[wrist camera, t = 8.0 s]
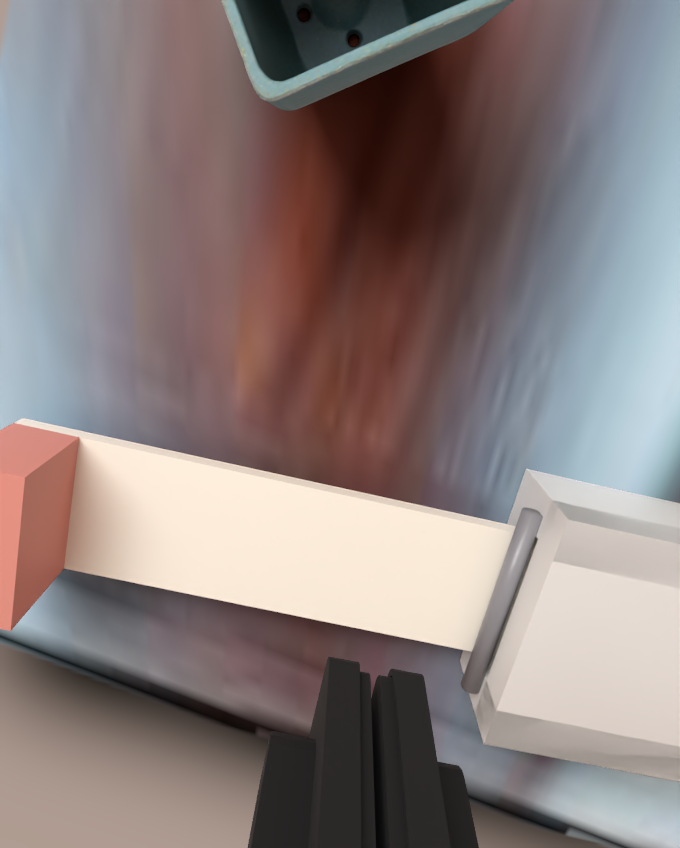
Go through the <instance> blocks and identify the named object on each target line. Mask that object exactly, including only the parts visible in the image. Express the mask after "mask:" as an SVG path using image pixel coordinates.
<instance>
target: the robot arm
mask: <svg viewBox="0 0 680 848" xmlns="http://www.w3.org/2000/svg"><path fill="white" fill-rule="evenodd" d="M248 848H479V847H478V843H477V837H476V832H475V827H474V823H473V818H472V814H471V808H470V803H469V798H468V793H467V789H466V784H465V779H464V776H463V772H462V770H461V768H460V767H459V766H457V765H452V764H446V763H441V762H437V757H436V750H435V744H434V738H433V731H432V725H431V719H430V713H429V706H428V700H427V694H426V688H425V681H424V677H423V675H422V674H417V673H412V672H406V671H401V670H396V669H391V670H390V672H389V674H388V677H386V676H380V675H379V676H378V677H377V679H376V683H375V687H374V690H373V694H372V698H371V683H370V674H369V673H365V672H360V664H359V662H354V661H349V660H344V659H338V658H333V657H328V660H327V663H326V667H325V671H324V675H323V680H322V684H321V688H320V693H319V697H318V701H317V705H316V710H315V714H314V718H313V722H312V727H311V731H310V735H309V738H307V737H302V736H297V735H291V734H286V733H281V732H275V731H271V733H270V737H269V742H268V747H267V751H266V756H265V761H264V766H263V770H262V775H261V780H260V785H259V790H258V795H257V801H256V806H255V811H254V817H253V822H252V828H251V833H250V839H249V844H248Z"/></svg>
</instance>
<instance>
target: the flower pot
mask: <svg viewBox="0 0 680 848" xmlns="http://www.w3.org/2000/svg"><path fill="white" fill-rule="evenodd" d="M221 1H222V4H223V7H224V9H225V12H226V15H227V18H228V20H229V23H230V25H231V28H232V31H233V34H234V37H235V39H236V42H237V45H238V48H239V51H240V54H241V56H242V58H243V61H244V64H245V68H246V71H247V74H248V77H249V79H250V80H251V83H252V86H253V88H254V90H255V92H256V93H257V94H258V96H259V97H260V98H261V99H263V100H265V101H266V102H268V103H270V104H272V105H273V106H275V107H277V108H279V109H282V110H285V111H293V110H297V109H300V108H302V107H304V106H307V105H309V104H311V103H314V102H316V101H318V100H320V99H323V98H325V97H327V96H330V95H332V94H334V93H336V92H339V91H341V90H343V89H345V88H348V87H350V86H352V85H354V84H357V83H359V82H361V81H363V80H366V79H368V78H370V77H372V76H375V75H377V74H379V73H382V72H384V71H386V70H389V69H391V68H393V67H396V66H398V65H400V64H402V63H405V62H407V61H409V60H412V59H414V58H416V57H419V56H421V55H423V54H426V53H428V52H430V51H433V50H435V49H438V48H440V47H442V46H445V45H447V44H450V43H452V42H455V41H457V40H459V39H461V38H463V37H465V36H467V35H469V34H471V33H472V32H474V31H476V30H477V29H478V28H480V27H481V26H482V25H484V24H485V23H486V22H488V21H489V20H490V19H491V18H493V17H494V16H495V15H496V14H498V13H499V12H500V11H501V10H503V9H504V8H505V7H506V6H507V5H509V4H510V3H511V2H512V1H513V0H221ZM301 8H306V9H308V10H309V12H310V18H309V20H308V21H306V22H302V21H300V20H299V18H298V12H299V10H300V9H301ZM352 34H356V35H358V36H359V39H360V42H359V44H358V45H357V46H356V47H351V46H349V44H348V37H349V36H350V35H352Z"/></svg>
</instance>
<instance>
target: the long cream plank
mask: <svg viewBox="0 0 680 848" xmlns="http://www.w3.org/2000/svg"><path fill="white" fill-rule="evenodd" d="M515 527H516V526H513V525H508V524H503V523H499V522H494V521H490V520H485V519H481V518H476V517H472V516H467V515H462V514H458V513H453V512H449V511H444V510H440V509H435V508H430V507H426V506H421V505H417V504H412V503H408V502H403V501H399V500H394V499H389V498H385V497H380V496H376V495H371V494H367V493H362V492H357V491H353V490H348V489H344V488H339V487H335V486H330V485H326V484H321V483H316V482H312V481H307V480H303V479H298V478H294V477H289V476H284V475H280V474H275V473H271V472H266V471H262V470H257V469H252V468H248V467H243V466H239V465H234V464H230V463H225V462H221V461H216V460H211V459H207V458H202V457H198V456H193V455H189V454H184V453H179V452H175V451H170V450H166V449H161V448H157V447H152V446H148V445H143V444H138V443H134V442H129V441H125V440H120V439H116V438H111V437H106V436H102V435H97V434H93V433H88V432H84V431H79V430H75V429H70V428H65V427H61V426H56V425H52V424H47V423H43V422H38V421H33V420H29V419H24V418H22V419H20V420H18V421H17V422H15V423H13V424H11V425H9V426H7V427H6V428H4V429H2V430H0V629H4V630H9V631H11V630H12V629H13V628H14V626H15V625H16V624H17V623H18V622H19V620H20V619H21V618H22V617H23V616H24V615H25V613H26V612H27V611H28V610H29V609H30V608H31V606H32V605H33V604H34V603H35V602H36V601H37V599H38V598H39V597H40V596H41V595H42V594H43V592H44V591H45V590H46V589H47V588H48V587H49V585H50V584H51V583H52V582H53V581H54V580H55V578H56V577H57V576H58V575H59V574H60V573H61V571H62V570H63V569H69V570H74V571H79V572H83V573H88V574H93V575H98V576H103V577H108V578H113V579H118V580H123V581H128V582H132V583H137V584H142V585H147V586H152V587H157V588H162V589H167V590H172V591H177V592H182V593H186V594H191V595H196V596H201V597H206V598H211V599H216V600H221V601H226V602H231V603H236V604H240V605H245V606H250V607H255V608H260V609H265V610H270V611H275V612H280V613H285V614H289V615H294V616H299V617H304V618H309V619H314V620H319V621H324V622H329V623H334V624H339V625H343V626H348V627H353V628H358V629H363V630H368V631H373V632H378V633H383V634H388V635H393V636H397V637H402V638H407V639H412V640H417V641H422V642H427V643H432V644H437V645H442V646H447V647H451V648H456V649H461V650H466V651H471V652H472V650H473V647H474V644H475V641H476V638H477V636H478V633H479V630H480V627H481V624H482V621H483V618H484V616H485V613H486V610H487V607H488V604H489V601H490V599H491V596H492V593H493V590H494V587H495V584H496V581H497V579H498V576H499V573H500V570H501V567H502V564H503V562H504V559H505V556H506V553H507V550H508V547H509V544H510V542H511V539H512V536H513V533H514V530H515ZM537 541H538V538H537V537H536V538H535V541H534V544H533V547H532V549H531V552H530V555H529V558H528V560H527V563H526V566H525V569H524V571H523V574H522V577H521V580H520V582H519V585H518V588H517V591H516V593H515V596H514V599H513V602H512V604H511V607H510V610H509V613H508V615H507V618H506V621H505V624H504V626H503V629H502V632H501V635H500V637H499V640H498V643H497V646H496V648H495V651H494V654H493V656H496V653H497V650H498V648H499V645H500V642H501V639H502V637H503V634H504V631H505V628H506V626H507V623H508V620H509V617H510V615H511V612H512V609H513V607H514V604H515V601H516V598H517V596H518V593H519V590H520V587H521V585H522V582H523V579H524V576H525V574H526V571H527V568H528V565H529V563H530V560H531V557H532V555H533V552H534V549H535V546H536V544H537Z"/></svg>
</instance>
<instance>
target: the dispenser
mask: <svg viewBox="0 0 680 848" xmlns="http://www.w3.org/2000/svg"><path fill="white" fill-rule="evenodd" d="M507 524H508V525H513V526H516V527H515V530H514V533H513V536H512V539H511V542H510V544H509V547H508V550H507V553H506V556H505V559H504V562H503V564H502V567H501V570H500V573H499V576H498V579H497V581H496V584H495V587H494V590H493V593H492V596H491V599H490V601H489V604H488V607H487V610H486V613H485V616H484V618H483V621H482V624H481V627H480V630H479V633H478V636H477V638H476V641H475V644H474V647H473V650H472V652H471V651H466V650H463V652H462V655H461V658H460V663H461V667H462V670H463V674H464V675H463V678H462V681H461V686H462V688H463V689H464V690H465V691H467V692H469V695H470V698H471V702H472V705H473V708H474V712H475V715H476V719H477V722H478V726H479V729H480V733H481V736H482V740H483V743H484V744H486V745H491V746H496V747H501V748H506V749H512V750H517V751H522V752H527V753H532V754H537V755H543V756H548V757H553V758H558V759H563V760H568V761H574V762H579V763H584V764H589V765H594V766H599V767H605V768H610V769H615V770H620V771H625V772H630V773H636V774H641V775H646V776H651V777H656V778H661V779H667V780H672V781H677V782H680V503H676V502H671V501H667V500H663V499H658V498H654V497H649V496H645V495H640V494H636V493H632V492H627V491H623V490H618V489H614V488H609V487H605V486H601V485H596V484H592V483H587V482H583V481H578V480H574V479H570V478H565V477H561V476H556V475H552V474H547V473H543V472H539V471H534V470H530V469H526V470H525V473H524V476H523V479H522V482H521V485H520V488H519V490H518V493H517V496H516V499H515V502H514V505H513V508H512V511H511V514H510V516H509V519H508V522H507ZM536 537H537V538H538V541H537V544H536V546H535V549H534V552H533V555H532V557H531V560H530V563H529V565H528V568H527V571H526V574H525V576H524V579H523V582H522V585H521V587H520V590H519V593H518V596H517V598H516V601H515V604H514V607H513V609H512V612H511V615H510V617H509V620H508V623H507V626H506V628H505V631H504V634H503V637H502V639H501V642H500V645H499V648H498V650H497V653H496V656H493V654H494V651H495V648H496V646H497V643H498V640H499V637H500V635H501V632H502V629H503V626H504V624H505V621H506V618H507V615H508V613H509V610H510V607H511V604H512V602H513V599H514V596H515V593H516V591H517V588H518V585H519V582H520V580H521V577H522V574H523V571H524V569H525V566H526V563H527V560H528V558H529V555H530V552H531V549H532V547H533V544H534V541H535V538H536Z"/></svg>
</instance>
